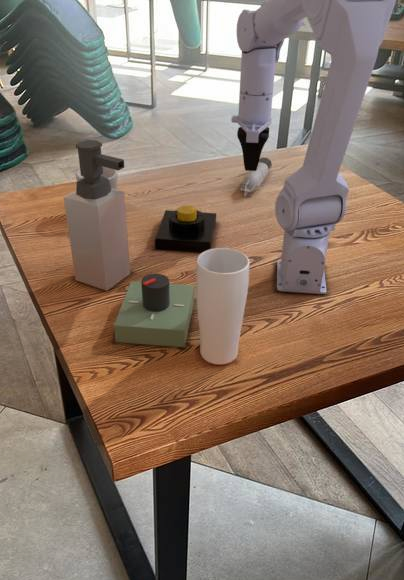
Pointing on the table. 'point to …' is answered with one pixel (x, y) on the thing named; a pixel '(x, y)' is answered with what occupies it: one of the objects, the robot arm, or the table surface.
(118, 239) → the soap dispenser
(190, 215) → the button
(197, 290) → the drinking glass
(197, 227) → the button block
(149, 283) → the dial
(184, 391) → the table surface
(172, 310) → the dial panel
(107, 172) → the cup
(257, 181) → the clear plastic bottle
